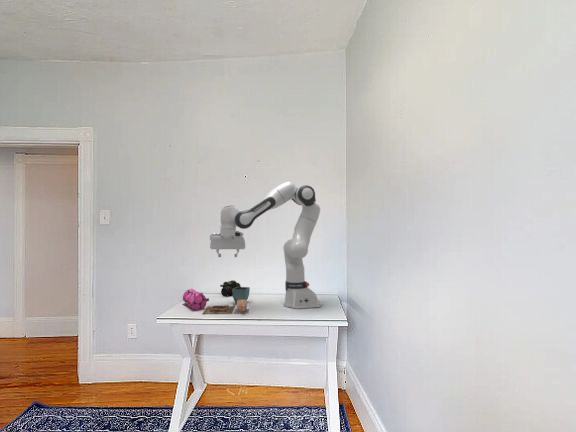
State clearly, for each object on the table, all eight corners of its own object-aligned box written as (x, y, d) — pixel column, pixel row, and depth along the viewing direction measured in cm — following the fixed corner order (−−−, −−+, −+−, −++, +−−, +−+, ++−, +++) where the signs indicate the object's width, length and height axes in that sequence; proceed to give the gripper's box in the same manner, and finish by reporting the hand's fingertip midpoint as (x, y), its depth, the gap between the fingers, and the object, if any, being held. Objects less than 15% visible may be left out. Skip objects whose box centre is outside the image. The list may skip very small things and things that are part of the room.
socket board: (234, 306, 206) (234, 303, 206) (232, 313, 190) (232, 310, 190) (207, 307, 205) (207, 304, 205) (202, 314, 189) (202, 311, 189)
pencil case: (209, 309, 200) (209, 291, 200) (193, 311, 194) (193, 293, 195) (196, 302, 217) (196, 286, 218) (180, 304, 212) (180, 288, 212)
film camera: (213, 296, 233) (213, 281, 233) (222, 293, 244) (222, 278, 244) (237, 298, 227) (237, 283, 227) (245, 294, 239) (245, 280, 239)
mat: (249, 309, 198) (249, 308, 198) (248, 313, 190) (248, 312, 190) (235, 309, 198) (235, 309, 198) (233, 313, 190) (233, 312, 190)
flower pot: (245, 304, 209) (245, 289, 210) (231, 304, 211) (231, 289, 211) (250, 301, 218) (250, 287, 218) (236, 300, 220) (236, 286, 220)
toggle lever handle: (236, 310, 195) (236, 299, 195) (246, 309, 197) (246, 298, 197) (238, 314, 185) (238, 303, 185) (248, 314, 187) (248, 302, 187)
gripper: (209, 233, 199) (208, 257, 199) (245, 233, 201) (244, 257, 200) (210, 233, 206) (210, 256, 205) (245, 233, 207) (245, 256, 207)
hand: (227, 257), depth 203 cm, fingers open, 8 cm apart
